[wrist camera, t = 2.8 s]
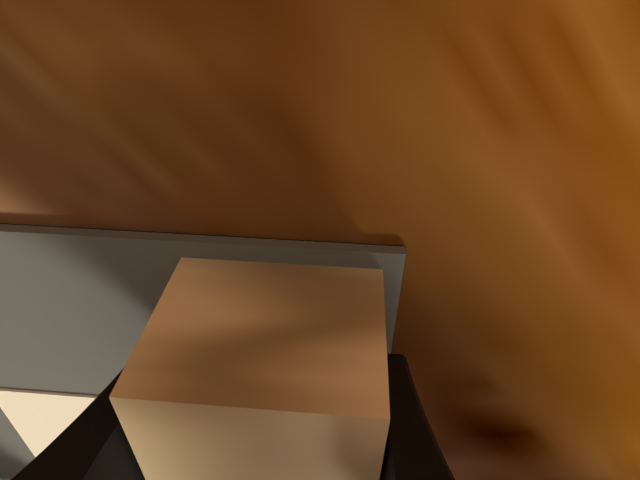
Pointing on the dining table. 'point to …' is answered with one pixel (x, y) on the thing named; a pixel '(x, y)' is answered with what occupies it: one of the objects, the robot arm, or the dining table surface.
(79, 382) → the grey flat slab
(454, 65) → the dining table surface
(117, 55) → the dining table surface
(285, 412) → the maple block
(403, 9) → the dining table surface
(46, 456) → the robot arm
